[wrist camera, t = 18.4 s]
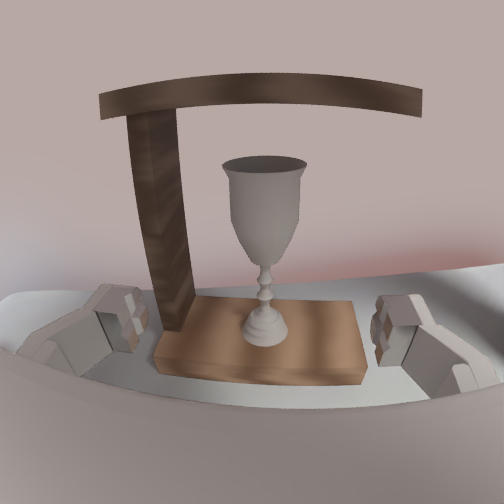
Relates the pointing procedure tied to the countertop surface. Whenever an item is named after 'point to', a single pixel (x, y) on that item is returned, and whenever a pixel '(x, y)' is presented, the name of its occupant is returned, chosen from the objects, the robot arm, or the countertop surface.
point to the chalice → (264, 228)
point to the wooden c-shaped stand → (176, 242)
